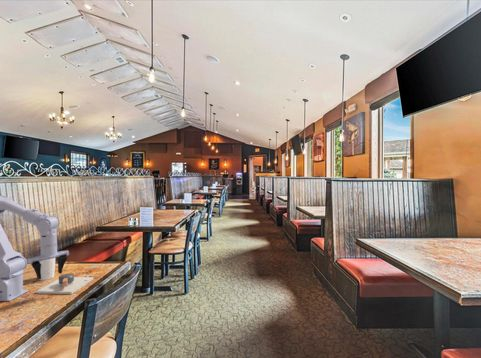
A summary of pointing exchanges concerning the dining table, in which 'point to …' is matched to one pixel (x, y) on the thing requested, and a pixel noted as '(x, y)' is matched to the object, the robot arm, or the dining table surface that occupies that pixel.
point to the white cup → (47, 269)
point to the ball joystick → (66, 279)
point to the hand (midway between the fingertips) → (49, 275)
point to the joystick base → (71, 287)
